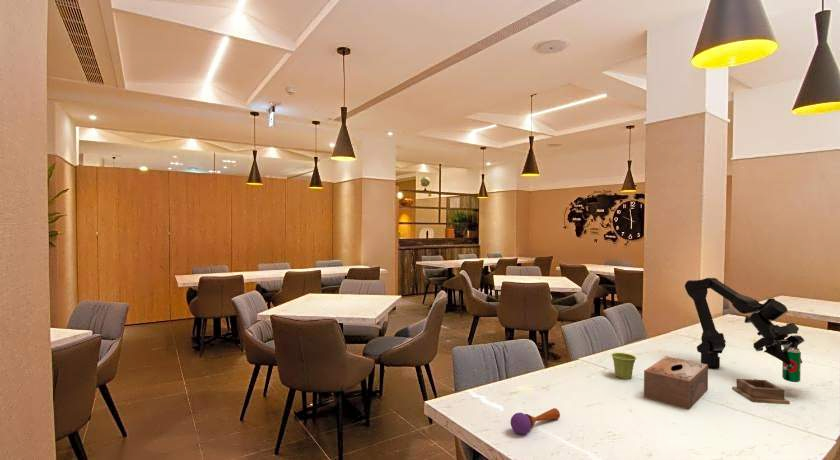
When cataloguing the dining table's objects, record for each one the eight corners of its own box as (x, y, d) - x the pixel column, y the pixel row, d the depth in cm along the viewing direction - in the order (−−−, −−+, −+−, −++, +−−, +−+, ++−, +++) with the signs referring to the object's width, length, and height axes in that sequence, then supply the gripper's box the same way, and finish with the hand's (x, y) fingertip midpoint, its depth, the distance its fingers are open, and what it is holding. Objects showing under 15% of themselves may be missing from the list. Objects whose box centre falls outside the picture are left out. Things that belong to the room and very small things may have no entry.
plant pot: (635, 374, 176) (635, 354, 176) (636, 382, 168) (636, 360, 168) (611, 371, 180) (611, 351, 180) (611, 378, 172) (611, 357, 172)
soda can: (803, 383, 152) (804, 350, 152) (787, 382, 153) (788, 349, 153) (794, 378, 157) (794, 346, 157) (779, 377, 158) (779, 345, 158)
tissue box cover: (689, 410, 142) (689, 381, 142) (643, 397, 153) (644, 370, 153) (707, 390, 160) (707, 364, 160) (666, 380, 170) (666, 356, 170)
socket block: (732, 389, 161) (732, 377, 161) (766, 391, 159) (766, 379, 159) (752, 401, 149) (752, 389, 149) (789, 404, 147) (789, 391, 147)
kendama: (565, 410, 133) (523, 421, 121) (561, 427, 133) (519, 440, 122) (550, 400, 137) (508, 410, 126) (546, 416, 138) (504, 428, 127)
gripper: (761, 316, 156) (793, 354, 146) (799, 314, 161) (833, 351, 150) (740, 332, 164) (769, 369, 154) (777, 329, 169) (807, 365, 158)
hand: (795, 363), depth 154 cm, fingers closed on soda can, 5 cm apart
